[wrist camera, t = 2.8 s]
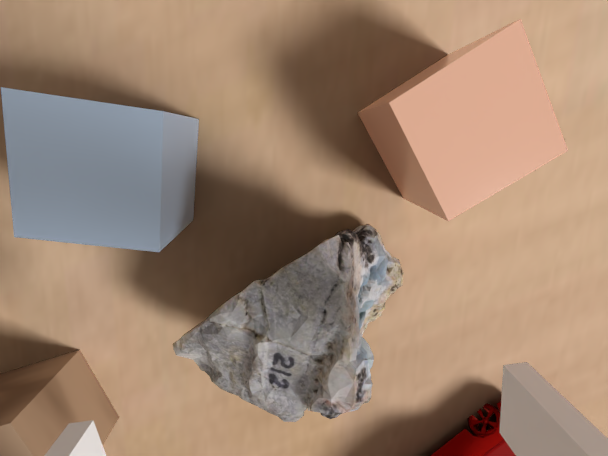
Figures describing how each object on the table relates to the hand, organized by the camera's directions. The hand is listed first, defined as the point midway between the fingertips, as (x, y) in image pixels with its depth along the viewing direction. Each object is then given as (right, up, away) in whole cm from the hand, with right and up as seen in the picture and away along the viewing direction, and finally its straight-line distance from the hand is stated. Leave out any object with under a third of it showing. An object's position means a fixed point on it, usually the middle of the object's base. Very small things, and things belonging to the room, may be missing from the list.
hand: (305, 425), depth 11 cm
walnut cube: (-14, -3, +9) cm, 17 cm away
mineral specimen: (0, +3, +8) cm, 9 cm away
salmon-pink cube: (+6, +11, +6) cm, 14 cm away
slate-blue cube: (-8, +10, +5) cm, 13 cm away
